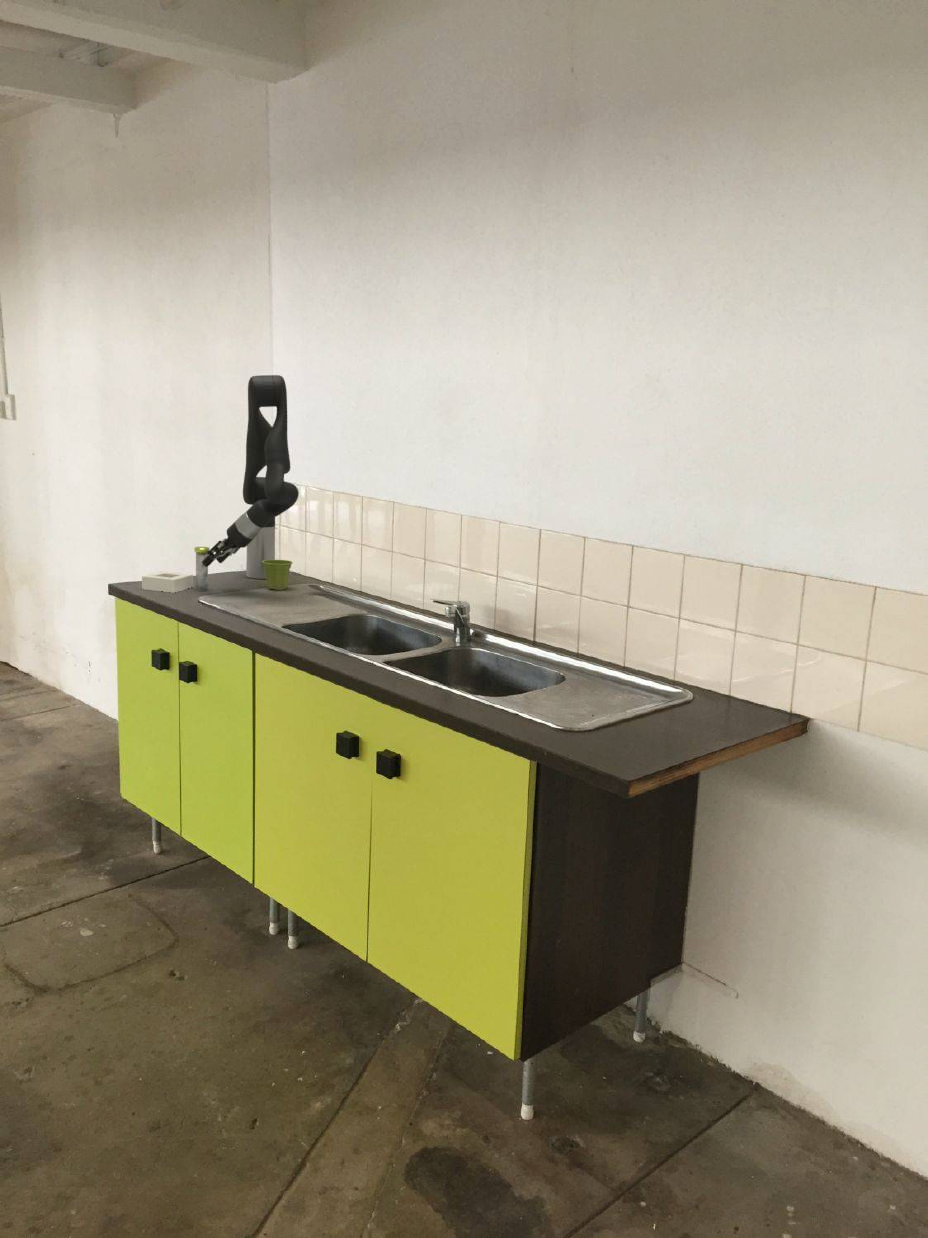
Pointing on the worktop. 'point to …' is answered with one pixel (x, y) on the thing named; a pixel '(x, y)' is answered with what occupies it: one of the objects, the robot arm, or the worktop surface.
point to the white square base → (167, 581)
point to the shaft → (201, 569)
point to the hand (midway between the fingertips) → (211, 562)
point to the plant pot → (277, 573)
